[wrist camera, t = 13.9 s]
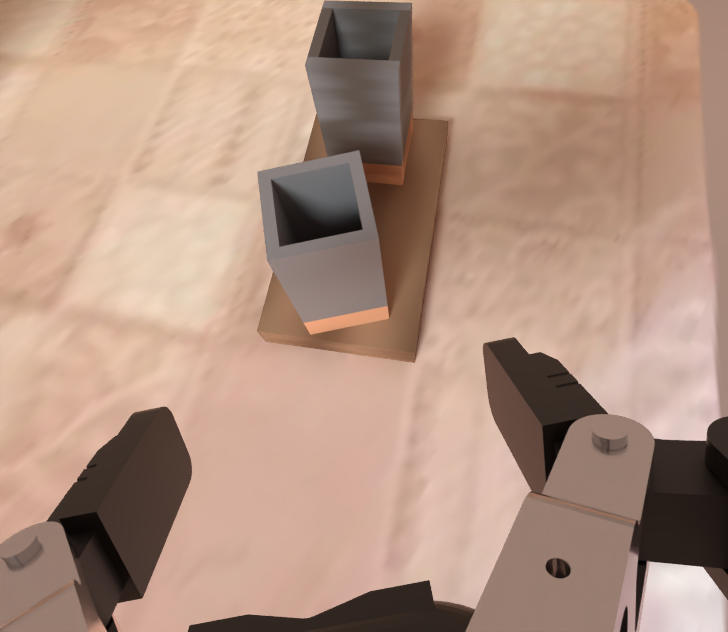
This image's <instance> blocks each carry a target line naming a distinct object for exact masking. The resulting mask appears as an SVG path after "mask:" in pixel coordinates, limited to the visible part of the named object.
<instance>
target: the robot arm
mask: <svg viewBox="0 0 728 632" xmlns="http://www.w3.org/2000/svg"><path fill="white" fill-rule="evenodd" d="M483 355H484V364H485V373H486V381H487V390H488V398H489V404H490V408H491V412H492V415H493V418H494V420H495V422H496V424H497V426H498V428H499V430H500V432H501V434H502V436H503V438H504V439H505V441H506V443H507V445H508V447H509V449H510V451H511V453H512V454H513V456H514V458H515V460H516V462H517V464H518V466H519V468H520V470H521V471H522V473H523V475H524V477H525V479H526V481H527V483H528V485H529V487H530V488H531V490H532V491H531V492H529V493H528V495H527V496H526V498H525V500H524V502H523V504H522V506H521V508H520V511H519V513H518V515H517V517H516V520H515V522H514V524H513V526H512V529H511V531H510V533H509V535H508V538H507V540H506V542H505V544H504V546H503V549H502V551H501V553H500V555H499V558H498V560H497V562H496V564H495V567H494V569H493V571H492V573H491V576H490V578H489V580H488V582H487V585H486V587H485V589H484V591H483V593H482V596H481V598H480V600H479V602H478V605H477V607H476V609H472V608H469V607H466V606H463V605H460V604H455V603H450V602H443V601H433V596H432V591H431V586H430V581H429V580H428V581H423V582H418V583H412V584H407V585H402V586H396V587H391V588H386V589H381V590H375V591H370V592H368V593H365V594H363V595H361V596H359V597H356V598H354V599H352V600H350V601H347V602H345V603H343V604H341V605H338V606H336V607H334V608H332V609H329V610H327V611H325V612H323V613H320V614H318V615H316V616H313V617H311V618H305V619H301V618H287V617H274V616H261V615H243V616H238V617H232V618H227V619H222V620H216V621H211V622H206V623H200V624H195V625H190V626H189V629H188V632H639V628H640V621H641V615H642V608H643V602H644V595H645V589H646V582H647V576H648V569H649V563H650V562H660V563H671V564H681V565H691V566H701V567H704V569H705V570H706V571H707V573H708V574H709V575H710V577H711V578H712V579H713V581H714V582H715V583H716V585H717V586H718V588H719V589H720V590H721V592H722V593H723V594H724V596H725V597H726V598H727V600H728V417H723V418H720V419H718V420H716V421H714V422H713V423H712V424H711V425H710V426H709V427H708V430H707V440H706V441H683V440H661V439H654V438H653V436H652V434H651V432H650V431H649V430H648V429H647V428H645V427H644V426H643V425H641V424H640V423H638V422H636V421H634V420H631V419H629V418H626V417H622V416H618V415H610V414H608V413H607V412H606V411H605V410H604V409H603V408H602V407H601V406H600V405H599V403H598V402H597V401H596V400H595V399H594V398H593V397H592V396H591V395H590V394H589V393H588V392H587V391H586V390H585V388H584V387H583V386H582V385H581V384H578V381H577V380H576V379H575V378H574V377H573V376H572V375H571V374H569V371H568V370H567V369H566V368H565V367H564V366H563V365H562V364H561V363H560V362H559V361H558V360H556V359H554V358H552V357H550V356H548V355H546V354H543V353H541V352H539V353H534V354H528V353H527V351H526V350H525V349H524V348H523V347H522V345H521V344H520V343H519V342H518V341H517V339H516V338H514V337H513V338H508V339H503V340H498V341H493V342H488V343H484V345H483ZM86 467H87V469H84V470H83V472H82V473H81V475H80V476H79V477H78V479H77V482H75V483H74V484H73V485H72V487H71V488H70V490H69V491H68V492H67V494H66V495H65V496H64V498H63V499H62V501H61V502H60V503H59V505H58V506H57V507H56V509H55V510H54V512H53V513H52V514H51V516H50V517H49V518H48V520H47V521H46V522H43V523H39V524H35V525H32V526H30V527H28V528H25V529H23V530H21V531H20V532H18V533H16V534H14V535H13V536H11V537H10V538H8V539H7V540H5V541H4V542H3V543H1V544H0V632H121V629H120V626H119V624H118V622H117V620H116V619H115V617H114V615H113V612H114V609H115V607H116V605H117V603H120V602H125V601H131V600H136V599H141V598H143V596H144V593H145V591H146V588H147V586H148V583H149V581H150V579H151V576H152V574H153V571H154V569H155V566H156V564H157V561H158V559H159V557H160V554H161V552H162V549H163V547H164V544H165V542H166V539H167V537H168V535H169V532H170V530H171V527H172V525H173V522H174V520H175V517H176V515H177V513H178V510H179V508H180V505H181V503H182V500H183V498H184V495H185V493H186V490H187V488H188V486H189V483H190V480H191V475H192V465H191V459H190V456H189V453H188V451H187V448H186V446H185V443H184V441H183V439H182V436H181V434H180V431H179V429H178V427H177V424H176V422H175V419H174V417H173V415H172V413H171V411H170V410H169V409H168V408H167V407H159V408H154V409H149V410H144V411H139V412H135V413H133V414H132V415H131V417H130V418H129V420H128V421H127V422H126V424H125V425H124V427H123V428H122V429H121V431H120V432H119V434H118V435H117V436H115V437H114V438H113V439H111V440H110V441H109V442H108V443H107V444H105V445H104V446H103V447H102V448H101V449H99V450H98V451H97V453H96V454H95V455H94V457H93V458H92V459H91V461H90V462H89V464H88V465H87V466H86Z"/></svg>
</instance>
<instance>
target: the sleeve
mask: <svg viewBox="0 0 728 632" xmlns="http://www.w3.org/2000/svg"><path fill="white" fill-rule="evenodd" d="M257 173H258V182H259V191H260V199H261V208H262V217H263V226H264V235H265V244H266V253H267V261H268V263H269V265H270V266H271V268H272V270H273V272H274V273H275V275H276V277H277V278H278V280H279V282H280V283H281V285H282V287H283V289H284V290H285V292H286V294H287V295H288V297H289V299H290V301H291V302H292V304H293V306H294V307H295V309H296V311H297V313H298V314H299V316H300V318H301V319H302V321H303V323H304V325H305V326H306V328H307V330H308V331H309V333H310V335H311V334H316V333H321V332H326V331H331V330H336V329H341V328H346V327H351V326H356V325H361V324H366V323H371V322H376V321H380V320H385V319H389V313H388V305H387V298H386V290H385V282H384V275H383V267H382V259H381V252H380V244H379V237H378V232H377V228H376V223H375V219H374V214H373V210H372V205H371V201H370V196H369V192H368V188H367V183H366V179H365V174H364V170H363V165H362V161H361V156H360V152H359V150H358V151H353V152H349V153H344V154H339V155H334V156H330V157H325V158H320V159H315V160H311V161H306V162H301V163H296V164H292V165H287V166H282V167H277V168H273V169H268V170H263V171H258V172H257Z"/></svg>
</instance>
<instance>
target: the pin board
mask: <svg viewBox="0 0 728 632" xmlns="http://www.w3.org/2000/svg"><path fill="white" fill-rule="evenodd" d="M305 67H306V71H307V75H308V79H309V83H310V87H311V91H312V95H313V100H314V104H315V108H316V112H317V114H316V117H315V121H314V125H313V128H312V132H311V136H310V139H309V143H308V147H307V150H306V154H305V158H304V161H303V162H306V161H311V160H315V159H320V158H325V157H330V156H334V155H339V154H344V153H349V152H353V151H358V150H359V152H360V156H361V161H362V165H363V170H364V174H365V179H366V183H367V188H368V192H369V196H370V201H371V205H372V210H373V214H374V219H375V223H376V228H377V232H378V237H379V244H380V252H381V259H382V267H383V275H384V282H385V290H386V298H387V305H388V313H389V319H385V320H380V321H376V322H371V323H366V324H361V325H356V326H351V327H346V328H341V329H336V330H331V331H326V332H321V333H316V334H311V335H310V333H309V331H308V330H307V328H306V326H305V325H304V323H303V321H302V319H301V318H300V316H299V314H298V313H297V311H296V309H295V307H294V306H293V304H292V302H291V301H290V299H289V297H288V295H287V294H286V292H285V290H284V289H283V287H282V285H281V283H280V282H279V280H278V278H277V277H276V275H275V273H274V272H273V274H272V278H271V282H270V285H269V289H268V293H267V296H266V300H265V304H264V307H263V311H262V315H261V318H260V322H259V325H258V329H257V332H258V333H259V334H260V335H261V336H262V337H263V339H264V340H265V341H267V342H274V343H281V344H288V345H295V346H302V347H309V348H316V349H323V350H330V351H337V352H344V353H351V354H358V355H365V356H372V357H379V358H386V359H393V360H400V361H407V362H414V363H415V356H416V349H417V343H418V336H419V329H420V322H421V315H422V308H423V301H424V294H425V287H426V280H427V273H428V266H429V259H430V253H431V246H432V239H433V232H434V225H435V218H436V211H437V204H438V197H439V190H440V183H441V176H442V169H443V163H444V156H445V149H446V142H447V131H448V121H441V120H425V119H412V3H396V2H358V1H324V3H323V7H322V10H321V13H320V17H319V20H318V23H317V27H316V30H315V33H314V37H313V40H312V43H311V47H310V50H309V53H308V57H307V60H306V64H305Z"/></svg>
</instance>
